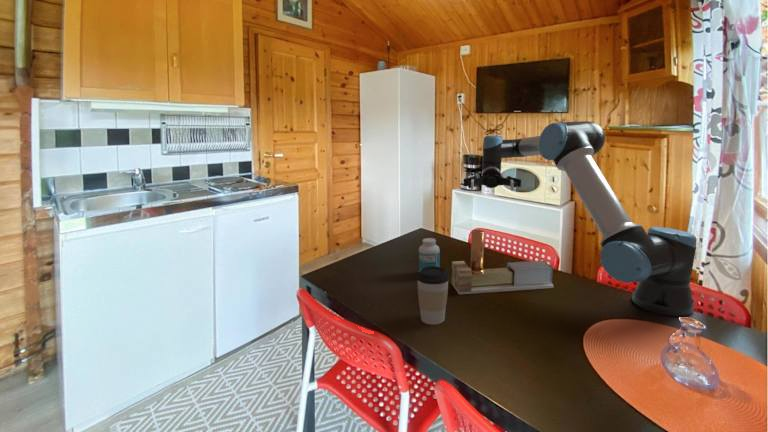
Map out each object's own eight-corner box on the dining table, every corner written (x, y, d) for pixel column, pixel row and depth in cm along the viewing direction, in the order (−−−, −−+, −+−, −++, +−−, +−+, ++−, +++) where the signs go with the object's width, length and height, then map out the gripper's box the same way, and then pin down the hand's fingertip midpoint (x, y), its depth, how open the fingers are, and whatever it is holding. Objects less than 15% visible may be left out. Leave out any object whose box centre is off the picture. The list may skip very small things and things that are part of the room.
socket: (471, 291, 133) (471, 270, 131) (459, 292, 132) (459, 271, 131) (463, 280, 141) (463, 260, 140) (451, 281, 141) (452, 261, 139)
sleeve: (551, 286, 137) (553, 267, 135) (514, 289, 136) (515, 269, 134) (542, 278, 143) (543, 260, 142) (506, 281, 142) (507, 262, 140)
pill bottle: (428, 270, 154) (428, 235, 151) (443, 275, 148) (444, 239, 145) (414, 275, 149) (414, 239, 146) (429, 281, 144) (429, 244, 141)
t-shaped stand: (519, 283, 136) (522, 231, 132) (460, 287, 134) (462, 234, 130) (513, 277, 141) (516, 227, 137) (456, 281, 139) (457, 230, 135)
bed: (553, 287, 136) (553, 285, 135) (459, 294, 133) (459, 291, 132) (540, 277, 144) (540, 274, 144) (451, 283, 141) (451, 280, 141)
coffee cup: (412, 323, 115) (412, 273, 111) (421, 309, 123) (421, 262, 119) (444, 328, 112) (445, 277, 108) (451, 313, 120) (452, 265, 116)
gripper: (524, 187, 160) (529, 197, 140) (459, 186, 166) (455, 196, 146) (525, 167, 158) (530, 175, 139) (459, 167, 164) (455, 175, 144)
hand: (492, 186), depth 142 cm, fingers open, 13 cm apart
